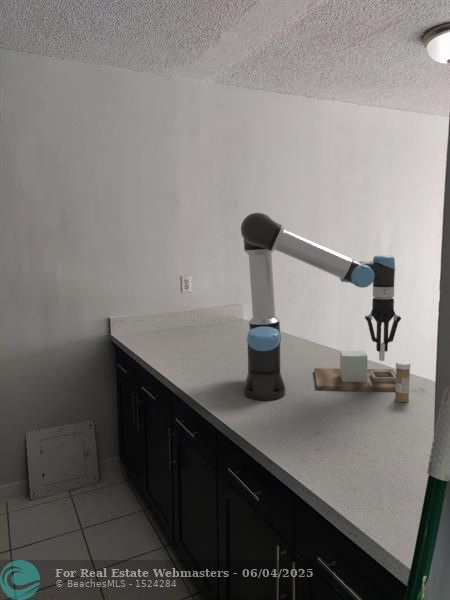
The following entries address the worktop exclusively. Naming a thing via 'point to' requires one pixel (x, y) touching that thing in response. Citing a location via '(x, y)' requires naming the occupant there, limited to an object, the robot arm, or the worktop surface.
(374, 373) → the socket
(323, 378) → the board
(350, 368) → the cover
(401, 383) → the sprinkles bottle
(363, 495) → the worktop surface
